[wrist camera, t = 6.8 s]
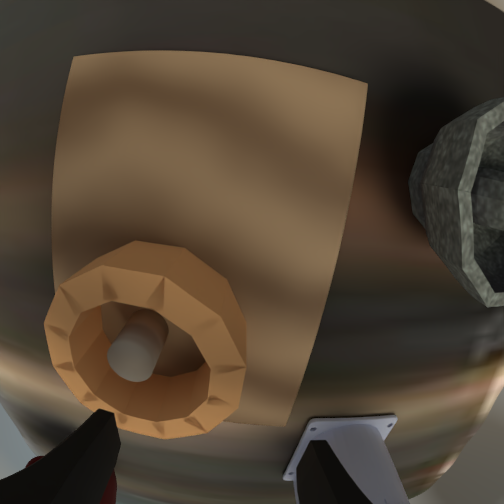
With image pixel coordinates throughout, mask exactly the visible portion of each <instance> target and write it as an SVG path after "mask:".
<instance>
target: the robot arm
mask: <svg viewBox="0 0 504 504" xmlns="http://www.w3.org/2000/svg"><path fill="white" fill-rule="evenodd" d="M396 421H397V416H396V415H386V416H373V417H355V418H314V419H311V420H310V421H309V422H308V424H307V426H306V429H305V431H304V433H303V435H302V437H301V440H300V442H299V444H298V446H297V448H296V450H295V452H294V454H293V457H292V459H291V461H290V463H289V465H288V467H287V469H286V471H285V473H284V475H283V479H284V480H287V481H291V480H293V483H294V490H295V498H296V504H410V503H409V500H408V498H407V495H406V493H405V490H404V488H403V485H402V483H401V480H400V478H399V476H398V473H397V471H396V468H395V466H394V464H393V461H392V459H391V457H390V454H389V452H388V450H387V447H386V445H385V443H384V440H385V438H386V437H387V435H388V434H389V432H390V431H391V429H392V428H393V426H394V425H395V423H396ZM120 445H121V442H120V438H119V433H118V429H117V424H116V420H115V415H114V413H113V412H110V411H106V410H103V409H100V408H99V409H97V410H96V411H95V412H94V413H93V414H92V415H91V416H90V417H89V418H88V419H87V420H86V421H85V422H84V423H83V424H82V425H81V426H80V427H79V428H78V429H77V430H76V431H74V432H73V433H72V434H71V435H70V436H69V437H68V438H66V439H65V440H64V441H63V442H62V443H61V444H59V445H58V446H57V447H56V448H54V449H53V450H52V451H50V452H49V453H48V454H46V455H45V456H44V457H42V458H41V459H39V460H38V461H36V462H35V463H33V464H31V465H30V466H28V467H26V468H24V469H23V470H21V471H19V472H17V473H15V474H13V475H11V476H8V477H6V478H4V479H1V480H0V504H100V501H101V499H102V496H103V494H104V491H105V489H106V486H107V484H108V482H109V479H110V477H111V474H112V472H113V469H114V467H115V464H116V460H117V457H118V453H119V449H120Z"/></svg>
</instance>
